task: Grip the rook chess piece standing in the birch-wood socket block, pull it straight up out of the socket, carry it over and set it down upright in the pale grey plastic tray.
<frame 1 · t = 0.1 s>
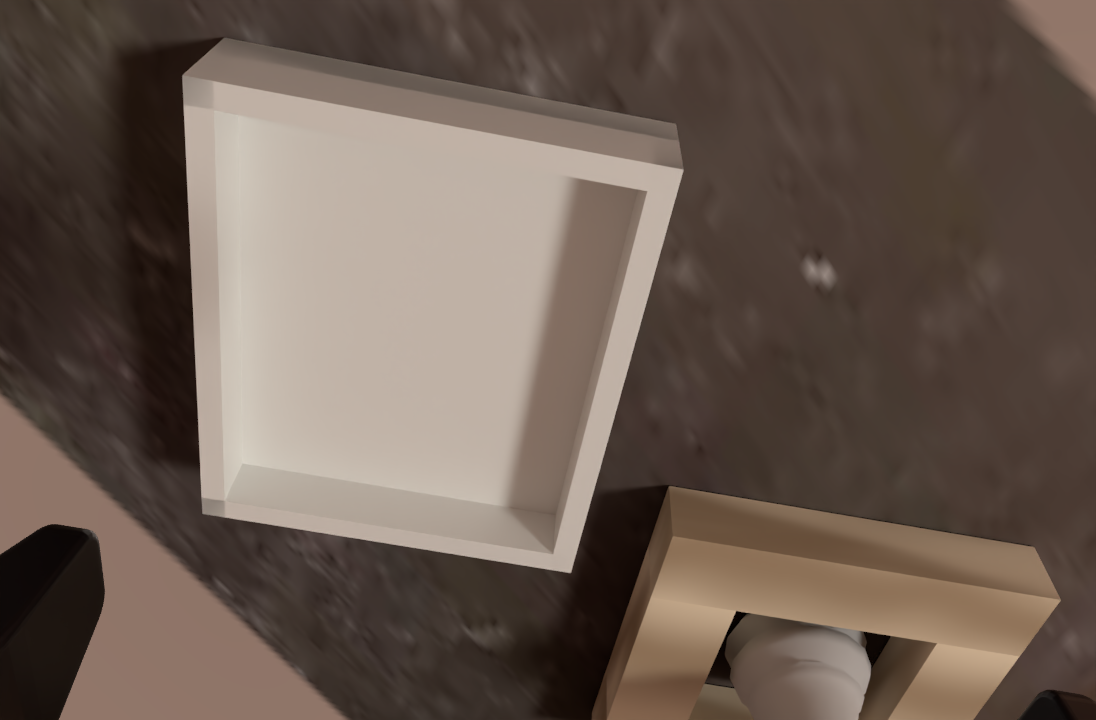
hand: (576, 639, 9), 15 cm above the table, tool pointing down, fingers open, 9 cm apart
tray: (425, 309, 24), on the table
rook chess piece: (791, 631, 31), resting in socket block
socket block: (792, 637, 31), on the table
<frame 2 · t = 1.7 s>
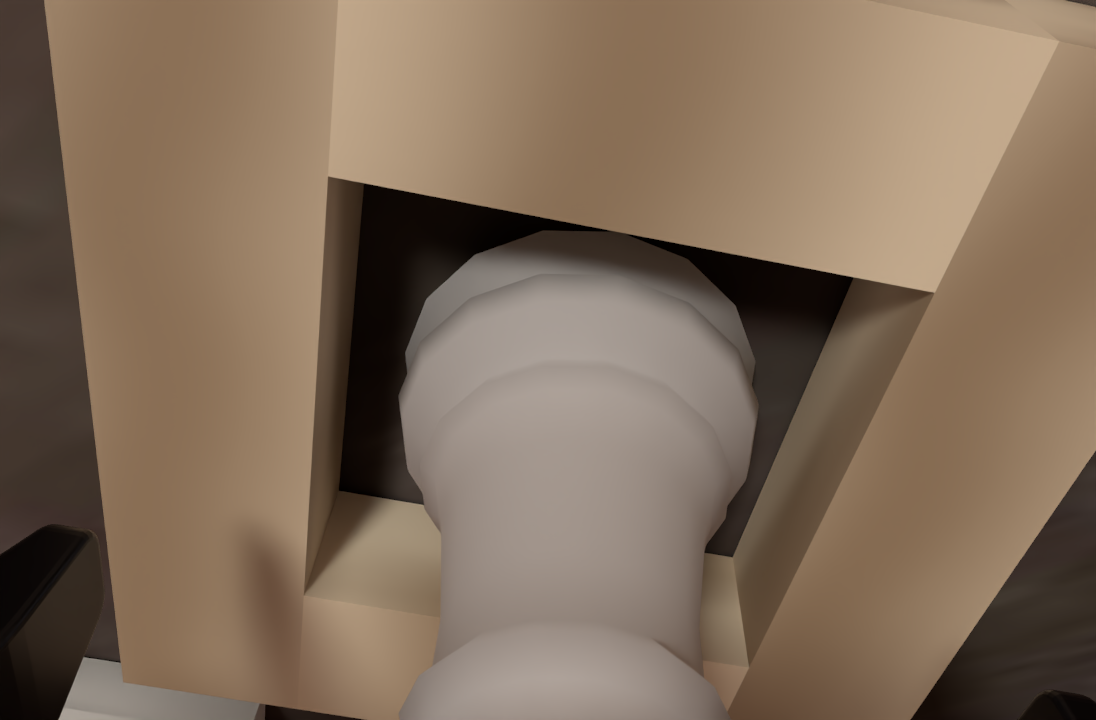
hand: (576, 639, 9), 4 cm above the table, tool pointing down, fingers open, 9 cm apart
rook chess piece: (579, 354, 13), resting in socket block
socket block: (579, 364, 13), on the table
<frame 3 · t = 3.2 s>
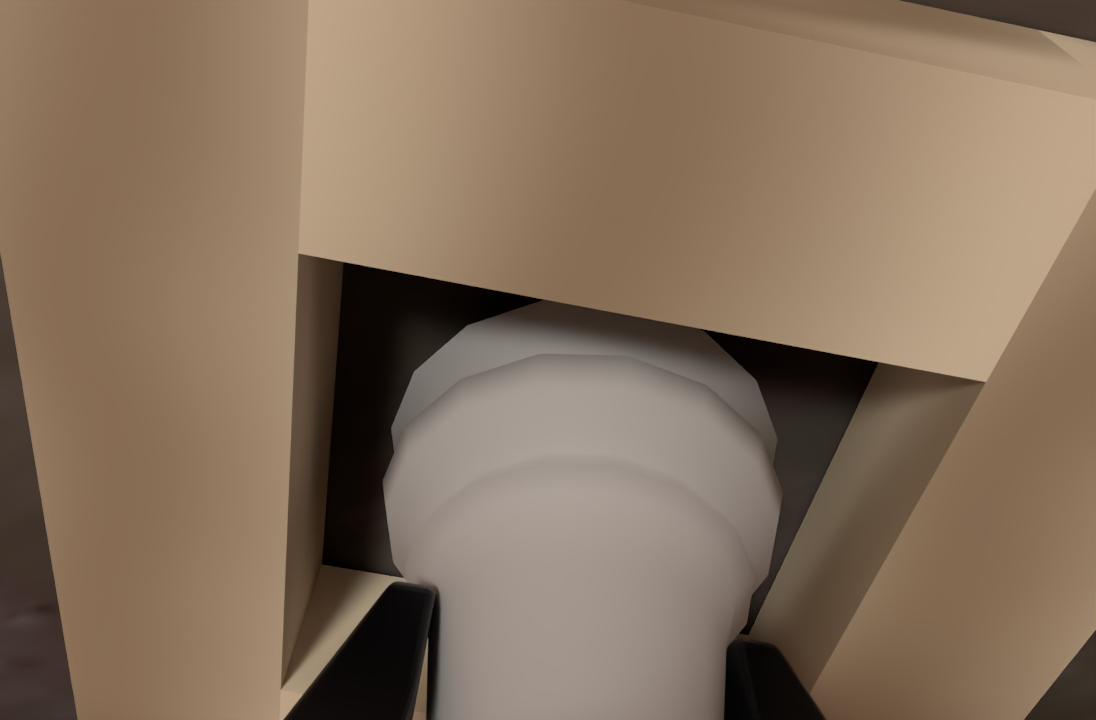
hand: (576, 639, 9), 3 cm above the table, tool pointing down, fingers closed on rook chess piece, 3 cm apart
rook chess piece: (583, 425, 12), resting in socket block, touching gripper
socket block: (582, 436, 11), on the table
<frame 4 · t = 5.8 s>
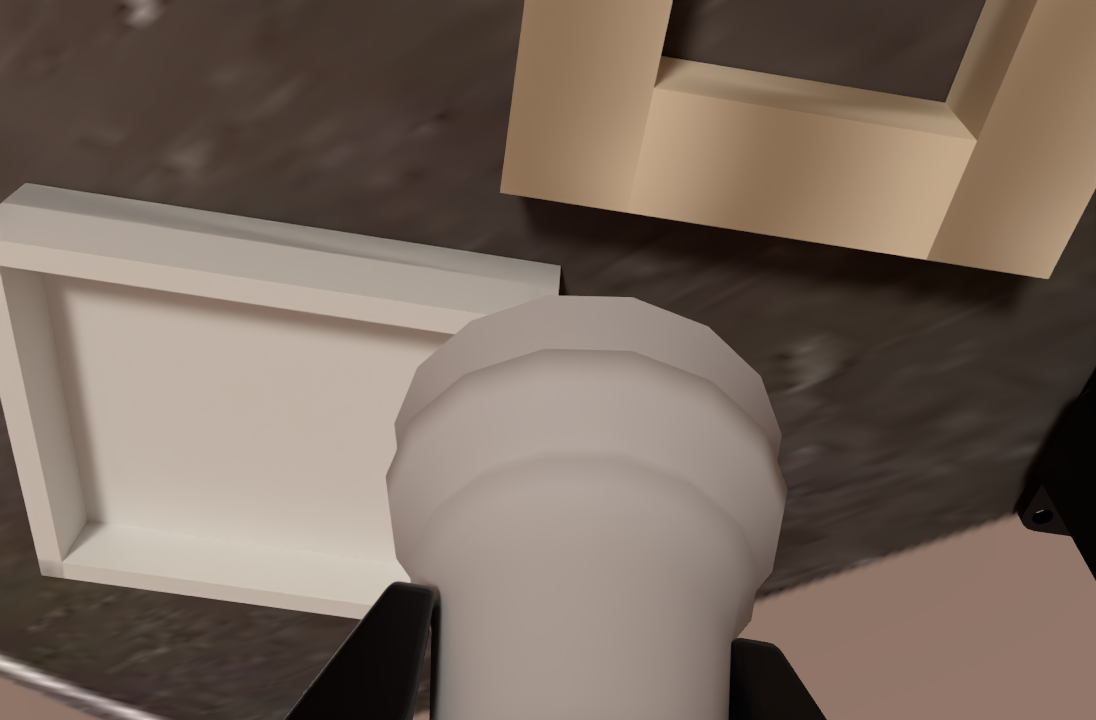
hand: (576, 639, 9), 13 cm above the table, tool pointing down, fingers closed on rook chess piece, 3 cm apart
tray: (297, 399, 24), on the table
rook chess piece: (586, 421, 12), point 10 cm above the table, touching gripper
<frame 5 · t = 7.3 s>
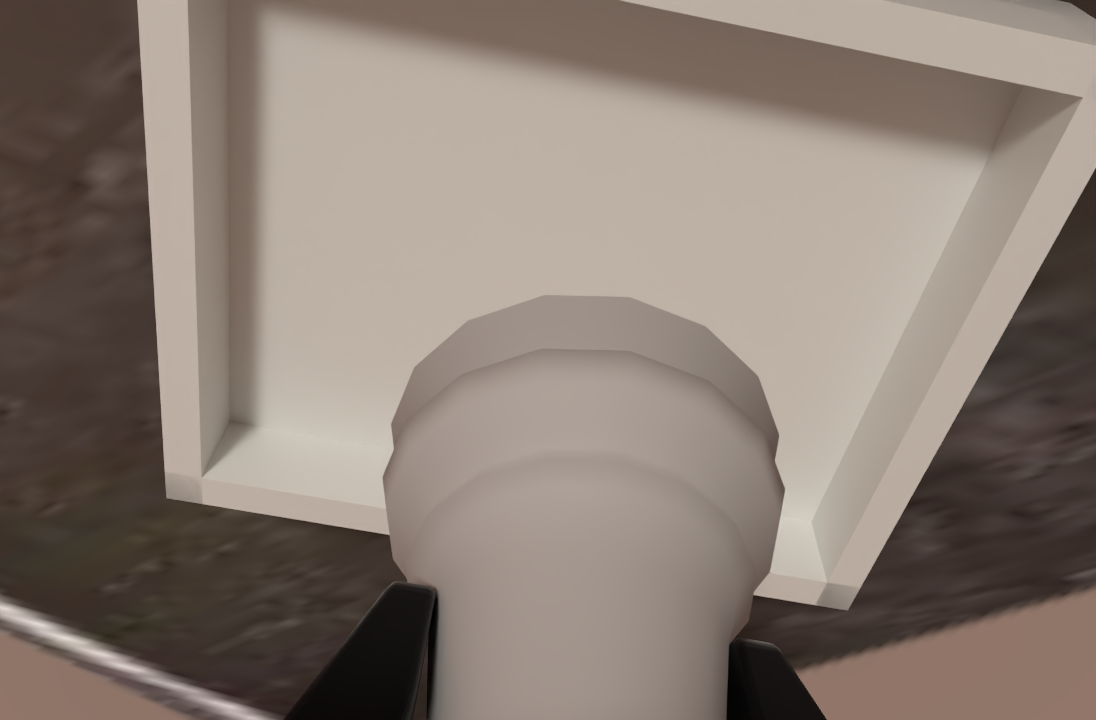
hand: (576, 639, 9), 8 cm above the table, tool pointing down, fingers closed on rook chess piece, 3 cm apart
tray: (577, 236, 16), on the table
rook chess piece: (583, 421, 12), point 5 cm above the table, touching gripper
when the fingers open (5 cm above the table, at t = 8.4 s): rook chess piece drops 1 cm, resting on tray.
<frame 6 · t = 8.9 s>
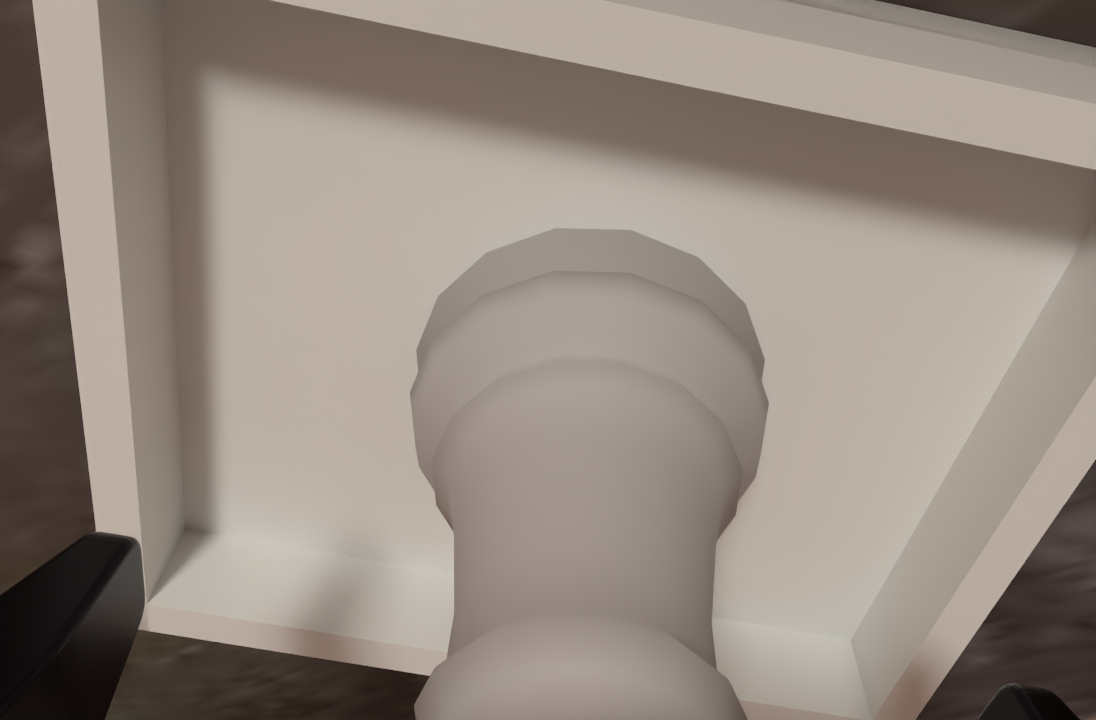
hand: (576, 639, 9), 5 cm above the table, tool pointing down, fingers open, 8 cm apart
tray: (584, 325, 13), on the table
rook chess piece: (589, 352, 13), point 1 cm above the table, touching tray
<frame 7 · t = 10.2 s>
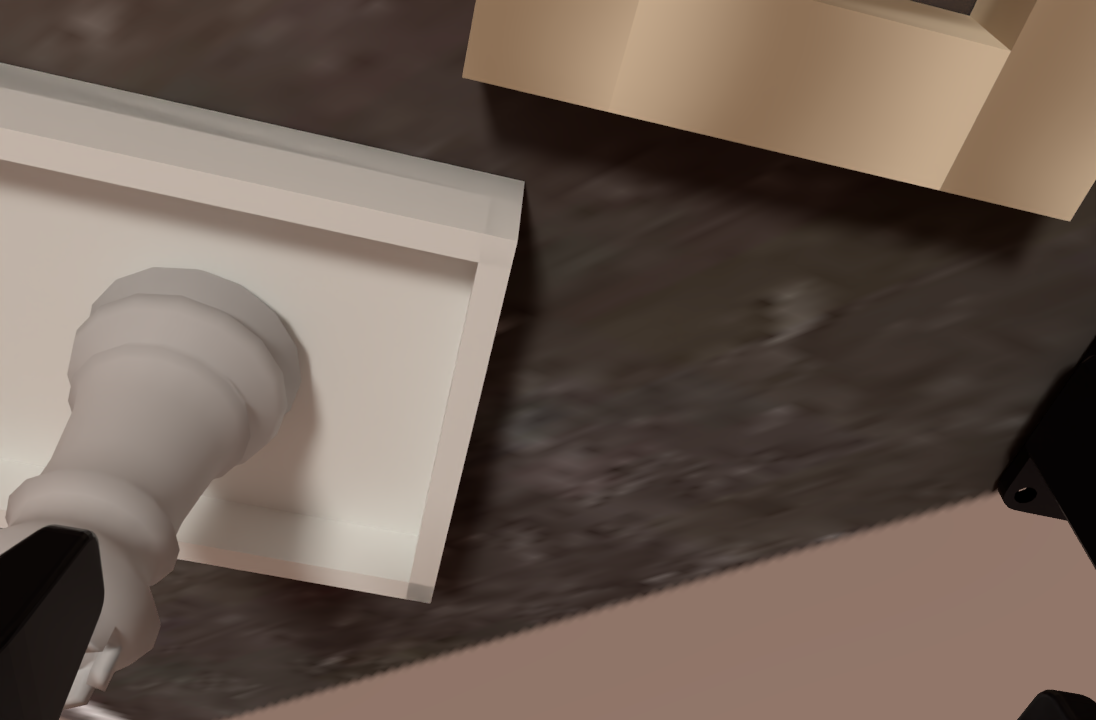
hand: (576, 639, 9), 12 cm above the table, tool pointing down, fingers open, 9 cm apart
tray: (214, 323, 21), on the table
rook chess piece: (205, 340, 20), point 1 cm above the table, touching tray
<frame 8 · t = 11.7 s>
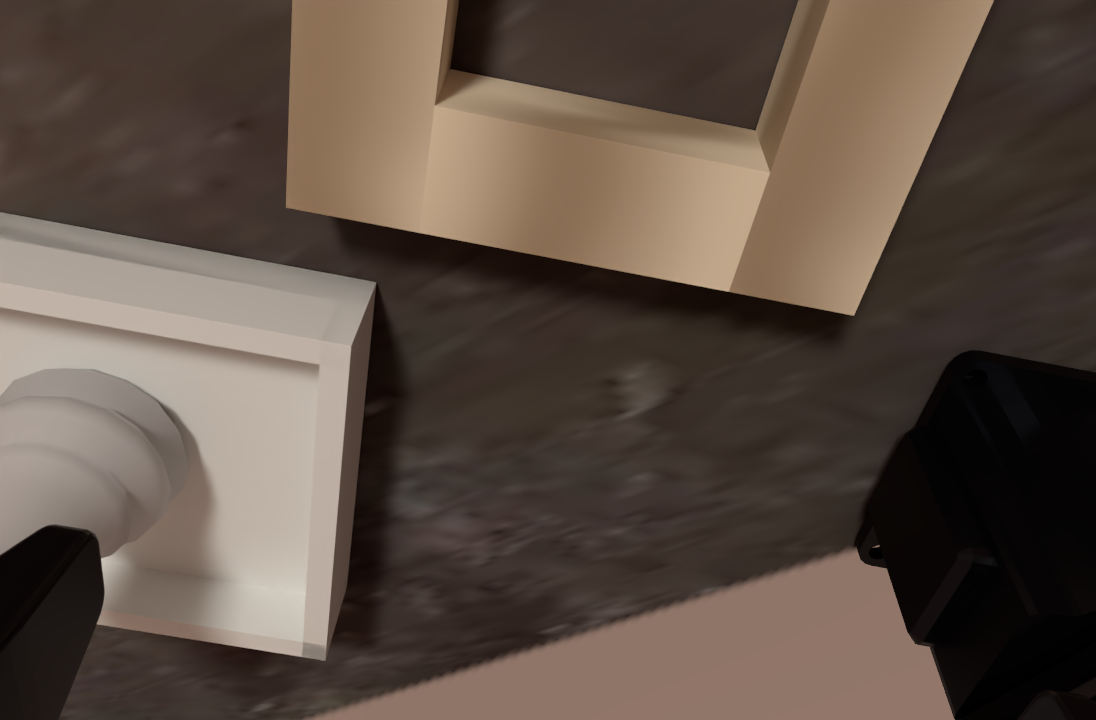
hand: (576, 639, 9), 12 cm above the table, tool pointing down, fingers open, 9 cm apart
tray: (116, 410, 23), on the table
rook chess piece: (104, 428, 23), point 1 cm above the table, touching tray
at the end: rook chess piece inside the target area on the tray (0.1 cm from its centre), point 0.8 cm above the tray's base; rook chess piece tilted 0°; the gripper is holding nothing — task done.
